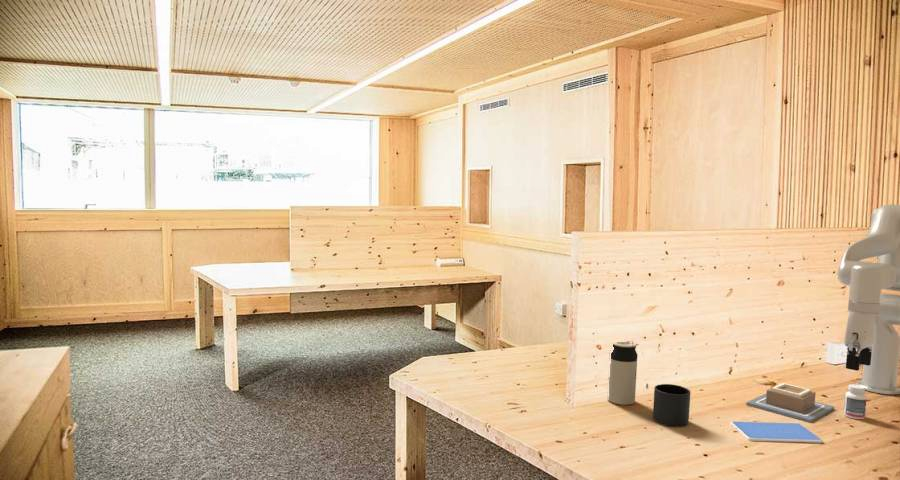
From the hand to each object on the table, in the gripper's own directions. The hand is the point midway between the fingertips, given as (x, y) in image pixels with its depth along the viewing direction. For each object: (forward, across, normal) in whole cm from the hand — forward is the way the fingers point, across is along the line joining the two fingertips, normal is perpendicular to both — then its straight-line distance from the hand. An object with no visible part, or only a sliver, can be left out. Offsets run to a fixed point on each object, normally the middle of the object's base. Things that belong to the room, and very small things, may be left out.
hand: (858, 366), depth 188 cm
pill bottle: (+15, -1, 0) cm, 15 cm away
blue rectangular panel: (+16, +31, -9) cm, 36 cm away
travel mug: (+16, +43, -49) cm, 67 cm away
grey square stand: (+15, +6, -15) cm, 22 cm away
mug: (+16, +45, -32) cm, 58 cm away
